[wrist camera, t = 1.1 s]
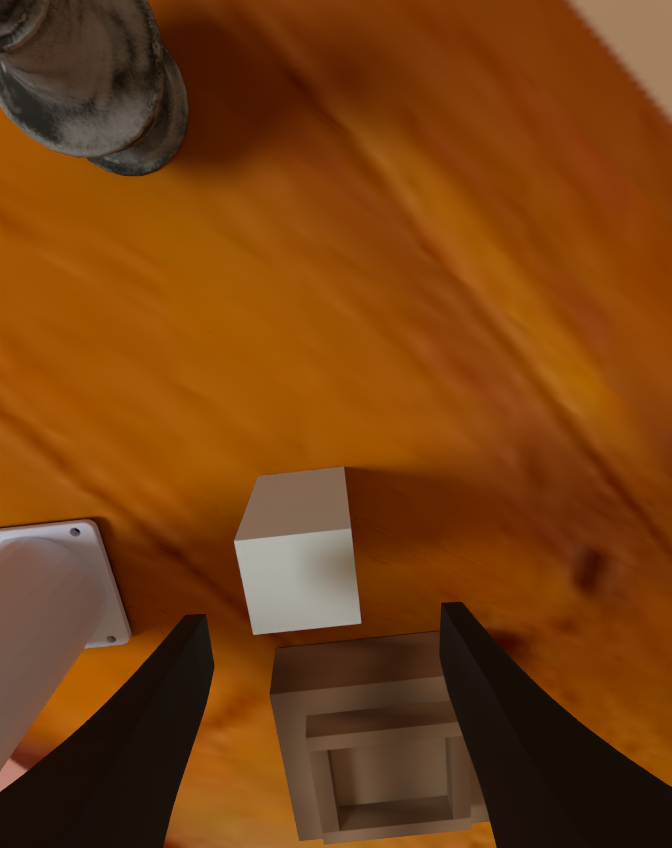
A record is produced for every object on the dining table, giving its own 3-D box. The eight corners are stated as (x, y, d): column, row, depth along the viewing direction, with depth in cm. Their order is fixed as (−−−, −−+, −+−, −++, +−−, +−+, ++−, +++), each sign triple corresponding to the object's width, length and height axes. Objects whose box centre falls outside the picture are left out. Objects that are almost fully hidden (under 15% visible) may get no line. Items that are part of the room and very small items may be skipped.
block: (271, 549, 23) (253, 634, 17) (258, 475, 21) (233, 541, 16) (352, 541, 23) (361, 623, 17) (343, 466, 21) (351, 528, 16)
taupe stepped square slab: (301, 785, 28) (298, 866, 24) (275, 648, 25) (266, 716, 21) (475, 767, 28) (500, 845, 24) (474, 627, 25) (504, 691, 21)
